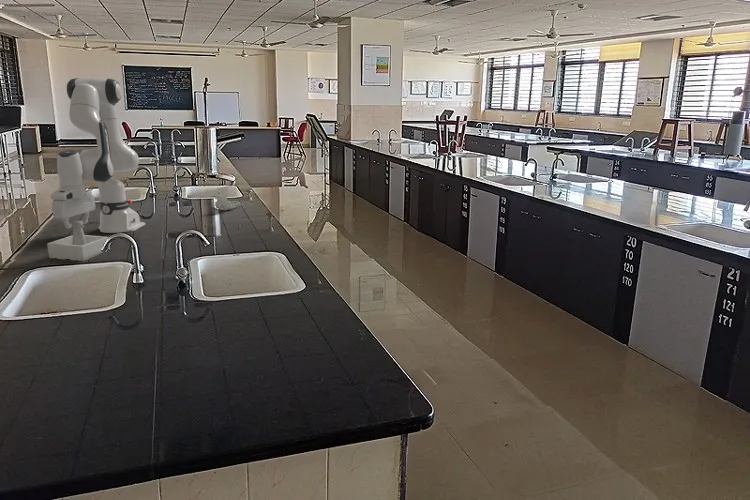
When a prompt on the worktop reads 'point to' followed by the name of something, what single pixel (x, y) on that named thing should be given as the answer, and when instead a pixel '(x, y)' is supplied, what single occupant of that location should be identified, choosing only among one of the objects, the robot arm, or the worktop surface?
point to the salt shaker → (78, 233)
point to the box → (76, 248)
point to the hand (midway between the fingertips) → (77, 225)
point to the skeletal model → (224, 202)
